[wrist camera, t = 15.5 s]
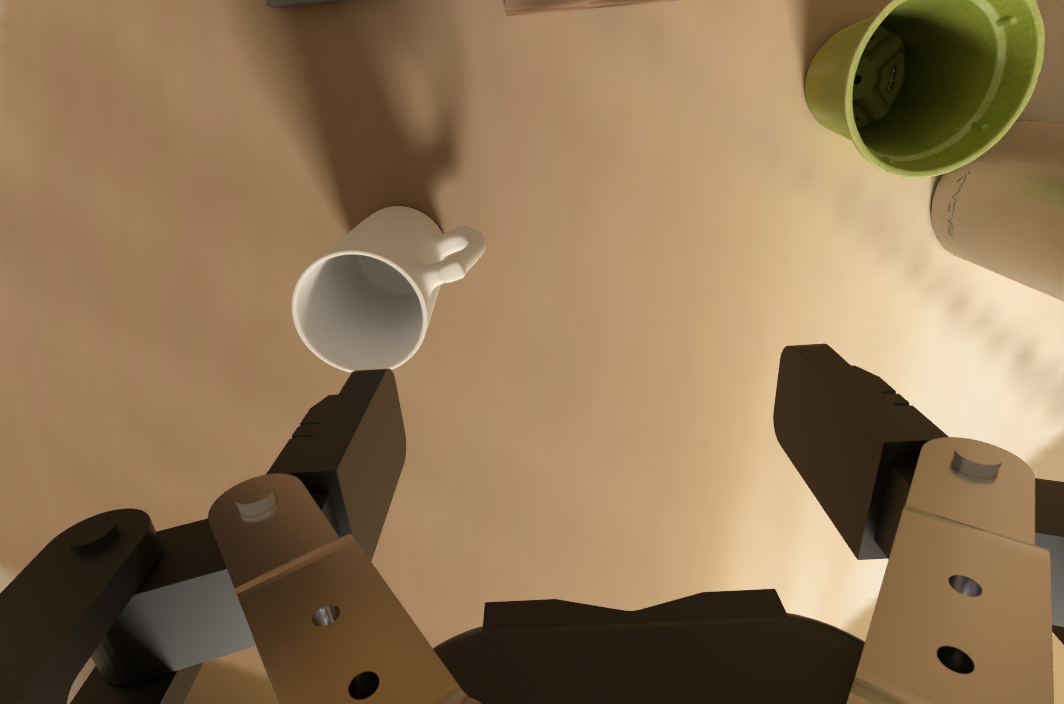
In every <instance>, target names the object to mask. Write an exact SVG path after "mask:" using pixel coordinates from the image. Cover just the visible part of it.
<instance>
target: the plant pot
mask: <svg viewBox="0 0 1064 704" xmlns="http://www.w3.org/2000/svg"><path fill="white" fill-rule="evenodd" d="M872 35H873V36H874V38H873V39H872V40H869V39H870V38H871V36H872ZM1044 44H1045V30H1044V22H1043V19H1042V16H1041V13H1040V9H1039V7H1038V4H1037V2H1036V0H890V1H889V2H888V3H887V4H886V5H885V6H884V7H883V8H882V9H881V10H880V11H879V12H878V13H876V14H874V15H872V16H870V17H867V18H865V19H863V20H861V21H858V22H856V23H854V24H851V25H849V26H847V27H845V28H843V29H841V30H840V31H838V32H837V33H835V34H834V35H833V36H832V37H831V38H830V39H829V40H827V42H826V43H825V44H824V45H823V46H822V47H821V48H820V49H819V50H818V51H817V53H816V54H815V56H814V58H813V59H812V61H811V64H810V66H809V69H808V72H807V76H806V82H805V98H806V103H807V106H808V108H809V110H810V111H811V113H812V114H813V116H814V117H815V119H816V120H817V121H818V122H819V123H820V124H821V125H822V126H824V127H826V128H827V129H829V130H831V131H833V132H835V133H838V134H840V135H842V136H844V137H846V138H848V139H850V140H851V141H853V143H854V145H855V147H856V148H857V150H858V151H859V152H860V154H861V155H862V156H863V157H864V158H865V159H866V160H867V161H868V162H870V163H871V164H872V165H874V166H875V167H877V168H879V169H880V170H883V171H885V172H887V173H890V174H893V175H897V176H902V177H908V178H923V177H931V176H936V175H941V174H944V173H947V172H950V171H952V170H955V169H957V168H959V167H961V166H964V165H966V164H968V163H970V162H971V161H973V160H975V159H976V158H978V157H979V156H981V155H982V154H984V153H985V152H986V151H987V150H989V149H990V148H991V147H992V146H993V145H995V144H996V143H997V142H998V141H999V140H1000V139H1001V138H1002V137H1003V136H1004V135H1005V134H1006V133H1007V131H1008V130H1009V129H1010V128H1011V127H1012V125H1013V124H1014V122H1015V121H1016V120H1017V118H1018V117H1019V116H1020V114H1021V113H1022V111H1023V110H1024V108H1025V107H1026V105H1027V103H1028V102H1029V100H1030V98H1031V96H1032V94H1033V91H1034V89H1035V86H1036V84H1037V81H1038V76H1039V73H1040V71H1041V68H1042V63H1043V58H1044ZM893 66H894V67H896V75H895V83H894V85H893V87H892V89H891V90H888V89H887V86H888V83H889V80H890V75H891V68H892V67H893ZM856 75H860V76H861V79H860V80H861V81H860V82H859V83H858V84H854V77H855V76H856ZM856 117H858V119H857V120H856V121H855V120H854V118H856Z"/></svg>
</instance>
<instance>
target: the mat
mask: <svg viewBox="0 0 1064 704" xmlns="http://www.w3.org/2000/svg"><path fill="white" fill-rule="evenodd" d="M339 1H349V0H266V4H267V6H270V7H284V6H295V5H306V4H317V3H328V2H339Z"/></svg>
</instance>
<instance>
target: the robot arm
mask: <svg viewBox="0 0 1064 704" xmlns="http://www.w3.org/2000/svg"><path fill="white" fill-rule="evenodd" d="M931 218H932V226H933V229H934V232H935V234H936V237H937V239H938V240H939V242H940V243H941V244H942V246H943V247H944V248H945V249H946V250H948V251H949V252H950V253H952V254H953V255H955V256H957V257H960V258H962V259H964V260H967V261H969V262H972V263H974V264H976V265H979V266H981V267H983V268H986V269H988V270H991V271H993V272H995V273H997V274H999V275H1002V276H1004V277H1006V278H1009V279H1011V280H1014V281H1016V282H1018V283H1021V284H1023V285H1026V286H1028V287H1030V288H1033V289H1035V290H1038V291H1040V292H1042V293H1045V294H1047V295H1050V296H1052V297H1054V298H1057V299H1059V300H1062V301H1064V124H1059V123H1048V122H1037V121H1020V122H1014V124H1013V125H1012V127H1011V128H1010V129H1009V130H1008V131H1007V133H1006V134H1005V135H1004V136H1003V137H1002V138H1001V139H1000V140H999V141H998V142H997V143H996V144H995V145H993V146H992V147H991V148H990V149H989V150H987V151H986V152H985V153H984V154H982V155H981V156H979V157H978V158H976V159H975V160H973V161H971V162H970V163H968V164H966V165H964V166H961V167H959V168H957V169H955V170H952V171H950V172H947V173H944V174H943V175H942V177H941V179H940V181H939V183H938V185H937V188H936V191H935V194H934V197H933V201H932V211H931ZM773 421H774V429H775V434H776V437H777V440H778V442H779V444H780V445H781V447H782V448H783V450H784V451H785V453H786V454H787V456H788V457H789V459H790V460H791V462H792V463H793V465H794V466H795V468H796V469H797V470H798V472H799V473H800V475H801V476H802V478H803V479H804V481H805V482H806V484H807V485H808V487H809V488H810V490H811V491H812V493H813V494H814V496H815V497H816V499H817V500H818V502H819V503H820V505H821V506H822V508H823V509H824V511H825V512H826V514H827V515H828V516H829V518H830V519H831V521H832V522H833V524H834V525H835V527H836V528H837V530H838V531H839V533H840V534H841V536H842V537H843V539H844V540H845V542H846V543H847V545H848V546H849V548H850V549H851V551H852V552H853V554H854V555H855V557H856V558H857V559H858V560H866V559H886V558H888V559H889V561H888V564H887V568H886V571H885V574H884V578H883V581H882V585H881V588H880V592H879V595H878V599H877V602H876V606H875V609H874V613H873V616H872V620H871V623H870V627H869V630H868V634H867V637H866V641H865V642H864V641H863V640H861V639H859V638H857V637H855V636H854V635H852V634H850V633H847V632H845V631H843V630H841V629H838V628H836V627H834V626H832V625H829V624H826V623H823V622H820V621H818V620H815V619H811V618H807V617H803V616H800V615H796V614H790V613H786V611H785V609H784V607H783V605H782V603H781V601H780V598H779V596H778V594H777V592H776V590H775V589H762V590H741V591H719V592H702V593H699V594H695V595H691V596H688V597H684V598H681V599H677V600H673V601H670V602H666V603H663V604H659V605H655V606H652V607H648V608H645V609H641V610H636V611H623V610H617V609H611V608H605V607H599V606H593V605H587V604H581V603H575V602H569V601H563V600H557V599H549V600H528V601H507V602H485V609H484V620H483V626H482V627H478V628H475V629H472V630H469V631H467V632H464V633H462V634H459V635H457V636H454V637H453V638H451V639H449V640H447V641H445V642H443V643H441V644H439V645H438V646H436V647H435V648H432V647H431V646H430V644H429V643H428V641H427V640H426V638H425V637H424V636H423V634H422V633H421V631H420V630H419V629H418V627H417V626H416V624H415V623H414V622H413V620H412V619H411V617H410V616H409V615H408V613H407V612H406V610H405V609H404V607H403V606H402V605H401V603H400V602H399V600H398V599H397V598H396V596H395V595H394V593H393V592H392V591H391V589H390V588H389V586H388V585H387V584H386V582H385V581H384V579H383V578H382V576H381V575H380V574H379V572H378V571H377V569H376V568H375V567H374V565H373V564H372V562H371V561H372V558H373V555H374V552H375V549H376V546H377V543H378V540H379V537H380V534H381V531H382V528H383V525H384V522H385V519H386V516H387V513H388V510H389V507H390V504H391V501H392V498H393V495H394V492H395V489H396V486H397V483H398V480H399V477H400V474H401V471H402V468H403V465H404V461H405V455H406V437H405V430H404V424H403V419H402V414H401V408H400V403H399V398H398V392H397V387H396V381H395V377H394V374H393V372H392V370H391V369H374V370H357V371H353V372H352V373H351V375H350V377H349V378H348V380H347V381H346V383H345V385H344V386H343V388H342V390H341V391H340V393H339V395H328V396H327V397H326V398H324V399H323V400H322V401H320V402H319V403H317V404H316V405H315V406H313V407H312V408H310V410H309V411H308V413H307V414H306V416H305V417H304V419H303V420H302V422H301V423H300V426H299V427H298V428H297V429H296V431H295V432H294V434H293V435H292V439H289V441H288V442H287V444H286V445H285V447H284V448H283V450H282V451H281V453H280V454H279V456H278V457H277V459H276V460H275V462H274V463H273V465H272V466H271V468H270V469H269V471H268V472H267V474H266V475H262V476H258V477H254V478H251V479H248V480H246V481H243V482H241V483H239V484H237V485H235V486H233V487H232V488H230V489H229V490H227V491H226V492H224V493H223V494H222V495H221V496H219V497H218V498H217V500H216V501H215V502H214V503H213V504H212V506H211V508H210V510H209V513H208V518H207V519H204V520H200V521H196V522H193V523H189V524H185V525H181V526H177V527H173V528H169V529H165V530H161V531H157V532H156V531H155V529H154V526H153V524H152V522H151V519H150V517H149V516H148V514H147V513H145V512H144V511H142V510H138V509H118V510H113V511H108V512H104V513H101V514H98V515H95V516H93V517H90V518H87V519H85V520H83V521H81V522H79V523H77V524H75V525H73V526H72V527H70V528H68V529H67V530H65V531H64V532H62V533H61V534H59V535H58V536H57V537H55V538H54V539H53V540H52V541H51V542H50V543H49V544H48V545H47V546H46V547H45V548H44V549H43V550H42V551H41V552H40V553H39V554H38V555H37V556H36V557H35V558H34V559H33V560H32V561H31V562H30V563H29V564H28V565H27V566H26V567H25V568H24V569H23V570H22V572H21V573H20V574H19V575H18V576H17V577H16V578H15V579H14V580H13V581H12V582H11V583H10V584H9V585H8V586H7V587H6V588H5V589H4V590H3V591H2V592H1V593H0V704H67V699H68V695H69V692H70V689H71V686H72V684H73V682H74V680H75V679H76V677H77V675H78V674H79V672H80V671H81V670H82V668H83V667H84V665H85V664H86V662H87V661H88V659H89V658H90V657H91V658H92V659H93V661H94V663H95V665H96V666H95V668H94V669H93V671H92V672H91V674H90V675H89V677H88V678H87V680H86V681H85V682H84V684H83V685H82V687H81V688H80V690H79V691H78V693H77V694H76V696H75V697H74V699H73V700H72V701H71V703H70V704H183V702H184V700H185V698H186V696H187V694H188V692H189V690H190V688H191V686H192V684H193V682H194V680H195V678H196V676H197V674H198V672H199V670H200V668H201V666H202V664H203V662H206V661H209V660H212V659H215V658H218V657H221V656H225V655H228V654H231V653H234V652H237V651H240V650H243V649H247V648H250V647H253V646H256V647H257V649H258V652H259V655H260V657H261V660H262V662H263V665H264V668H265V670H266V673H267V676H268V678H269V681H270V683H271V686H272V688H273V691H274V694H275V696H276V699H277V702H278V704H1054V690H1053V689H1054V688H1053V687H1054V686H1053V647H1052V632H1053V633H1054V634H1055V635H1056V636H1057V637H1058V639H1059V640H1060V641H1061V642H1062V643H1063V644H1064V482H1059V481H1052V480H1044V479H1037V478H1035V475H1034V473H1033V471H1032V469H1031V468H1030V467H1029V466H1028V464H1026V463H1025V462H1024V461H1023V460H1022V459H1020V458H1019V457H1017V456H1016V455H1014V454H1012V453H1010V452H1008V451H1006V450H1004V449H1002V448H999V447H997V446H994V445H991V444H988V443H985V442H981V441H977V440H972V439H966V438H957V437H948V436H947V435H946V434H945V433H944V432H943V431H941V430H940V429H939V428H938V427H937V426H936V425H934V424H933V423H932V422H931V421H930V420H929V419H927V418H926V417H925V416H924V415H923V414H922V413H921V412H919V411H918V410H917V409H916V408H915V407H914V406H909V402H908V401H907V400H905V399H904V398H903V397H902V396H901V395H900V394H896V391H895V390H894V389H893V388H892V387H890V386H889V385H888V384H887V383H886V382H885V381H883V380H882V379H881V378H880V377H878V376H876V375H874V374H872V373H870V372H868V371H865V370H863V369H861V368H859V367H857V366H851V365H850V364H848V363H847V362H846V361H845V360H844V359H843V358H842V357H841V356H840V355H839V354H837V353H836V352H835V351H834V350H833V349H832V348H831V347H830V346H828V345H827V344H812V345H795V346H786V347H785V348H784V349H783V351H782V354H781V358H780V365H779V373H778V381H777V389H776V397H775V405H774V415H773Z"/></svg>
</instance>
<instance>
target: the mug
mask: <svg viewBox="0 0 1064 704" xmlns="http://www.w3.org/2000/svg"><path fill="white" fill-rule="evenodd" d="M486 247H487V241H486V239H485V237H484V235H483V234H482V233H481V232H479V231H477V230H474V229H472V228H469V227H467V226H461V227H458V228H455V229H453V230H451V231H448V232H445V233H442V232H441V230H440V229H439V227H438V226H437V225H436V223H435V222H434V221H433V220H432V219H431V218H429V217H428V216H427V215H425V214H424V213H422V212H420V211H418V210H416V209H413V208H409V207H404V206H392V207H387V208H383V209H381V210H379V211H377V212H375V213H373V214H372V215H370V216H369V217H368V218H366V219H365V220H364V221H362V222H361V223H360V224H359V225H357V226H356V227H355V228H354V229H353V230H351V231H350V232H349V233H348V234H346V235H345V236H344V237H343V238H341V239H340V240H339V241H338V242H336V243H335V244H334V245H333V246H331V247H330V248H329V249H328V250H326V251H325V252H324V253H323V254H322V255H321V256H319V257H318V258H317V259H316V260H315V261H314V262H313V263H312V264H310V265H309V266H308V267H307V268H306V269H305V271H304V272H303V273H302V274H301V276H300V277H299V279H298V281H297V283H296V285H295V288H294V292H293V296H292V315H293V320H294V324H295V327H296V329H297V332H298V334H299V336H300V337H301V339H302V340H303V342H304V343H305V344H306V346H307V347H308V348H309V349H310V350H311V351H312V352H313V353H314V354H315V355H316V356H318V357H319V358H320V359H322V360H323V361H325V362H326V363H328V364H330V365H332V366H334V367H336V368H338V369H341V370H344V371H347V372H353V371H357V370H374V369H391V370H392V369H394V368H396V367H398V366H400V365H402V364H403V363H405V362H406V361H407V360H409V359H410V358H411V357H412V356H413V355H414V354H415V352H416V351H417V350H418V348H419V347H420V345H421V343H422V341H423V339H424V336H425V333H426V330H427V327H428V324H429V321H430V318H431V315H432V311H433V308H434V305H435V301H436V298H437V295H438V292H439V288H440V285H441V284H442V283H449V282H453V281H455V280H458V279H461V278H463V277H464V276H465V273H466V272H467V271H468V270H469V269H470V268H471V267H472V266H473V265H474V264H475V263H476V262H477V261H478V259H479V258H480V257H481V256H482V254H483V253H484V252H485V250H486ZM460 250H461V251H460ZM457 251H459V252H458V253H456V254H454V255H452V256H450V257H449V258H447V255H449V254H452V253H454V252H457Z"/></svg>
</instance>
